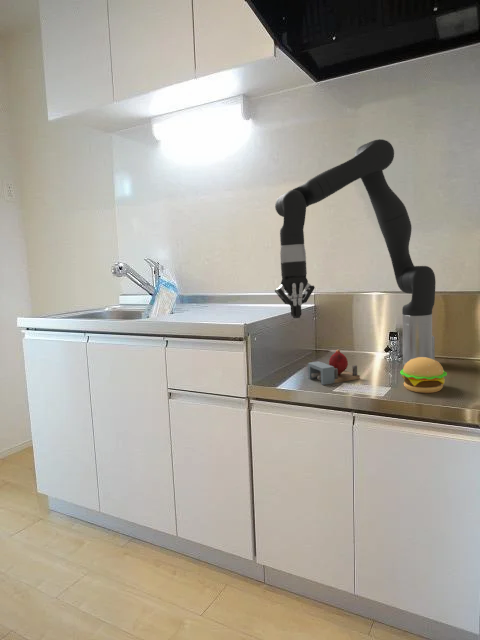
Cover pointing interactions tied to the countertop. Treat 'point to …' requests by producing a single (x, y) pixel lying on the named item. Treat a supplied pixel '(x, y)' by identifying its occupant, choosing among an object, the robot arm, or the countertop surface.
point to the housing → (322, 372)
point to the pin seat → (341, 375)
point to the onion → (338, 361)
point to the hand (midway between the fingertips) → (296, 317)
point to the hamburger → (423, 375)
